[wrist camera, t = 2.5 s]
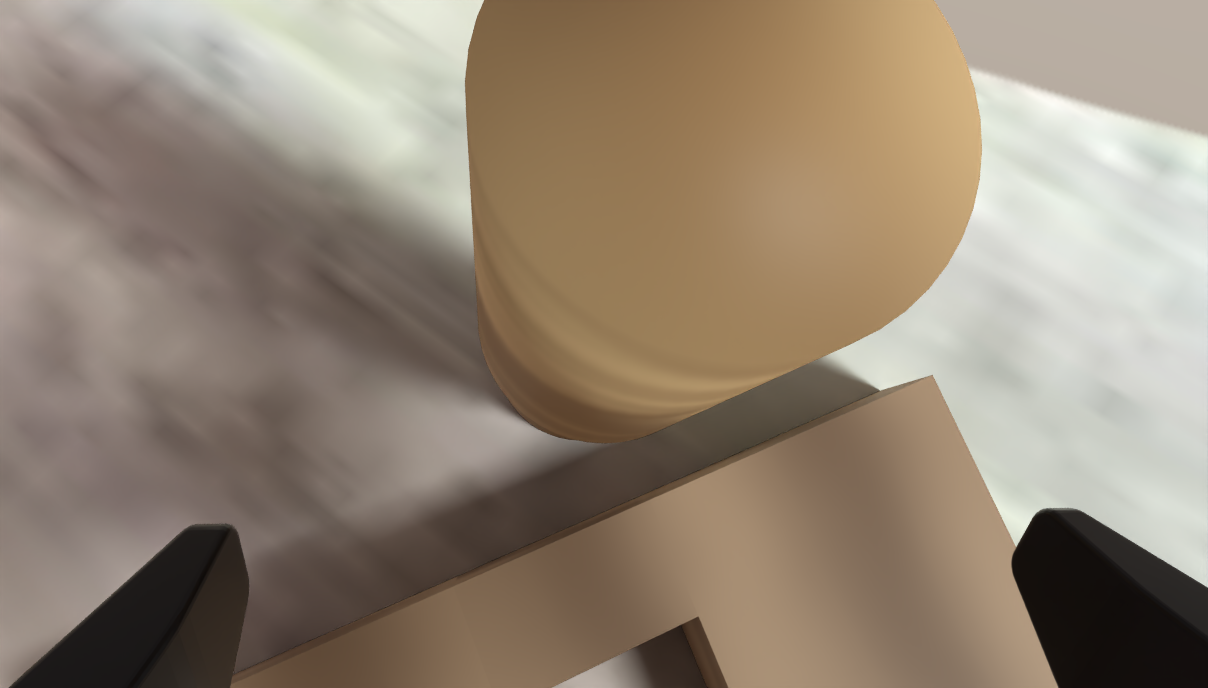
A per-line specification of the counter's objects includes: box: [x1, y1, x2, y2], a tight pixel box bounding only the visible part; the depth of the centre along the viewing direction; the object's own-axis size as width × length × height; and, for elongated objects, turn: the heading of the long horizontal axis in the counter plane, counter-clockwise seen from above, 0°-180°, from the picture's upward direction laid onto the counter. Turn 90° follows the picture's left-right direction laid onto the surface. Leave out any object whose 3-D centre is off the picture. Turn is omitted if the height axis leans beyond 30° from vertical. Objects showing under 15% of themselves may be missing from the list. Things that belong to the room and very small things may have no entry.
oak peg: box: [465, 0, 982, 443], centre depth 13 cm, size 4×4×14 cm
